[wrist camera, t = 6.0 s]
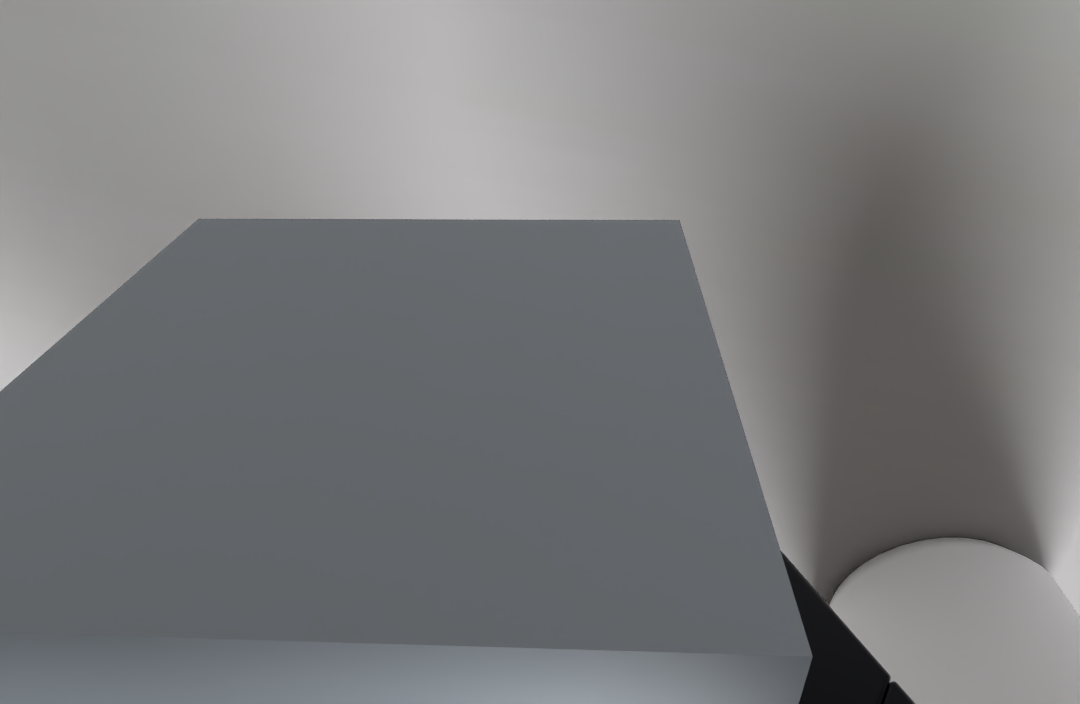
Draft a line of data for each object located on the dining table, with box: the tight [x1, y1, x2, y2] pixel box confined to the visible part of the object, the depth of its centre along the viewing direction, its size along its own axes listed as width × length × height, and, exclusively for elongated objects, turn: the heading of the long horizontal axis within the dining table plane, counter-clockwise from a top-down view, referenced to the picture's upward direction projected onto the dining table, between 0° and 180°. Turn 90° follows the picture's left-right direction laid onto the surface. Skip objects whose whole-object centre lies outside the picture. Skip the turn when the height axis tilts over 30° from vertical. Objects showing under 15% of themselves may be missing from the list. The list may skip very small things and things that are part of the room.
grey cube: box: [0, 219, 813, 704], centre depth 8 cm, size 6×6×6 cm
